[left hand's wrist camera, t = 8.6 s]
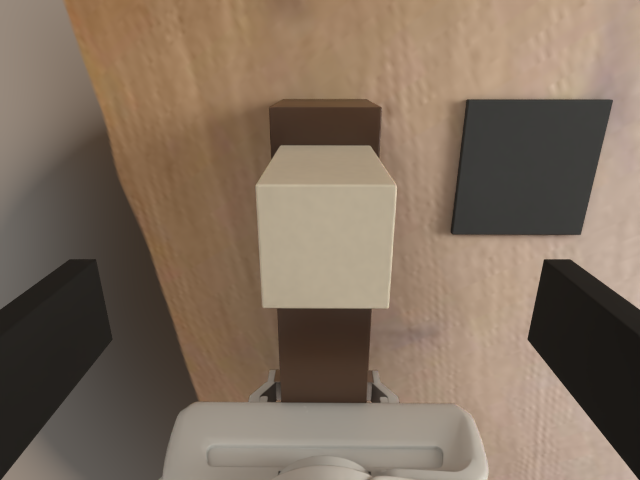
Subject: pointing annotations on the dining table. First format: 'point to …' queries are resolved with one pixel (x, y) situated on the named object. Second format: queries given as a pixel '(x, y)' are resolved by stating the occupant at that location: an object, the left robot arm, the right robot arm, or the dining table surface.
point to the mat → (528, 165)
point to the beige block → (325, 228)
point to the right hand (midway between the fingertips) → (324, 376)
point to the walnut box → (324, 323)
